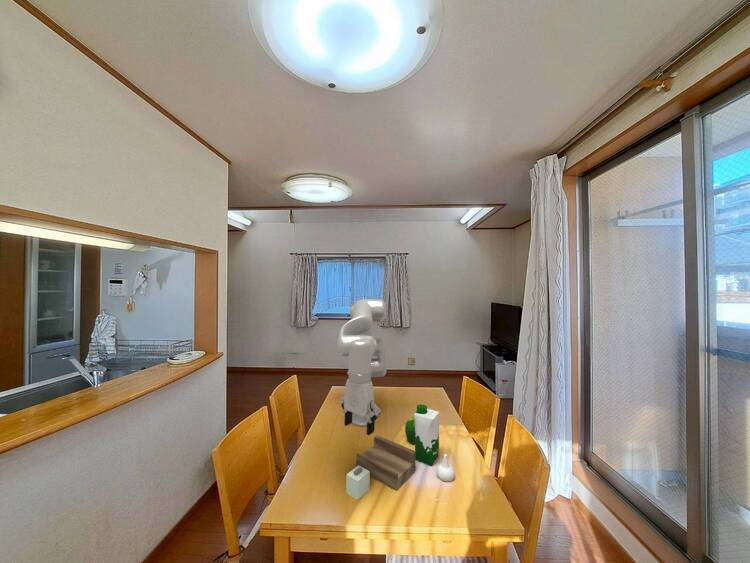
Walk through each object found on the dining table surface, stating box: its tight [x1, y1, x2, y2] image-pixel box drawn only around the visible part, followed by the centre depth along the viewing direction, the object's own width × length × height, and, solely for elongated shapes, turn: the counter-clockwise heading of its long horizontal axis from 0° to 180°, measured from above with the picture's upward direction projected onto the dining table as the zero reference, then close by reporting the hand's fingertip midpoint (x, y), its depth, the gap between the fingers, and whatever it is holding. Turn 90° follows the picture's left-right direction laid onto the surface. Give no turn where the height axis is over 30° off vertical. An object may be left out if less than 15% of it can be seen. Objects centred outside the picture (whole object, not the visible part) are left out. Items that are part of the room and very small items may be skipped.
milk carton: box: [413, 404, 440, 467], centre depth 108 cm, size 9×9×20 cm
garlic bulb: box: [436, 453, 456, 482], centre depth 98 cm, size 6×6×8 cm
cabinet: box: [345, 465, 370, 501], centre depth 90 cm, size 5×6×7 cm
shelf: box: [355, 434, 417, 491], centre depth 101 cm, size 13×18×7 cm
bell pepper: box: [404, 415, 415, 445], centre depth 120 cm, size 8×8×10 cm
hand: (359, 428), depth 91 cm, fingers open, 9 cm apart
